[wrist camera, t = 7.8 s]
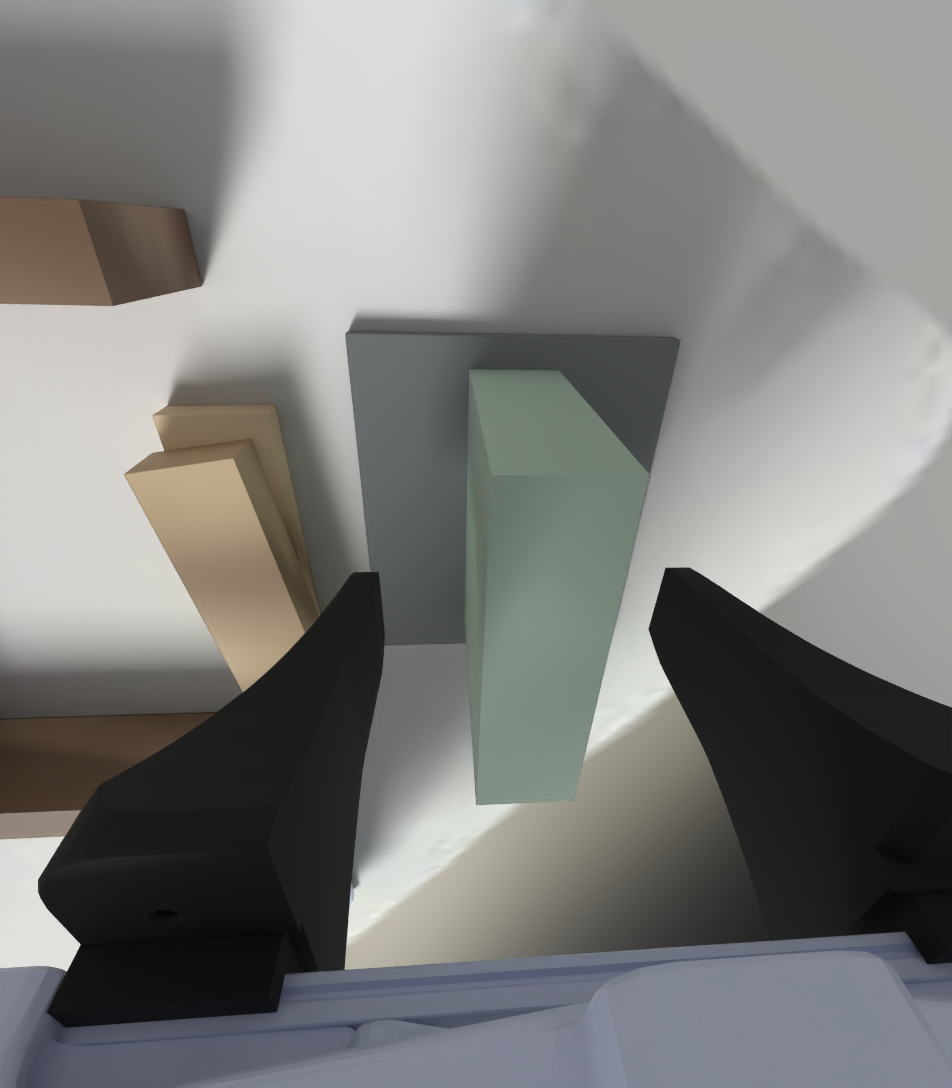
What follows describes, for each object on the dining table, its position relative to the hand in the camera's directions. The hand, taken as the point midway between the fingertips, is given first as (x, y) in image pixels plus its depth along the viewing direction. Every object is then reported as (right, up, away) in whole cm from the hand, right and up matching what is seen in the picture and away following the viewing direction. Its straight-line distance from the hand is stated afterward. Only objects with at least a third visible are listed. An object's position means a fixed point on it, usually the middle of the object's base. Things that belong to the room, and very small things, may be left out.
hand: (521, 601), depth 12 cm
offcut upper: (-8, +1, +3) cm, 9 cm away
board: (0, +2, +4) cm, 4 cm away
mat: (0, +3, +4) cm, 5 cm away
